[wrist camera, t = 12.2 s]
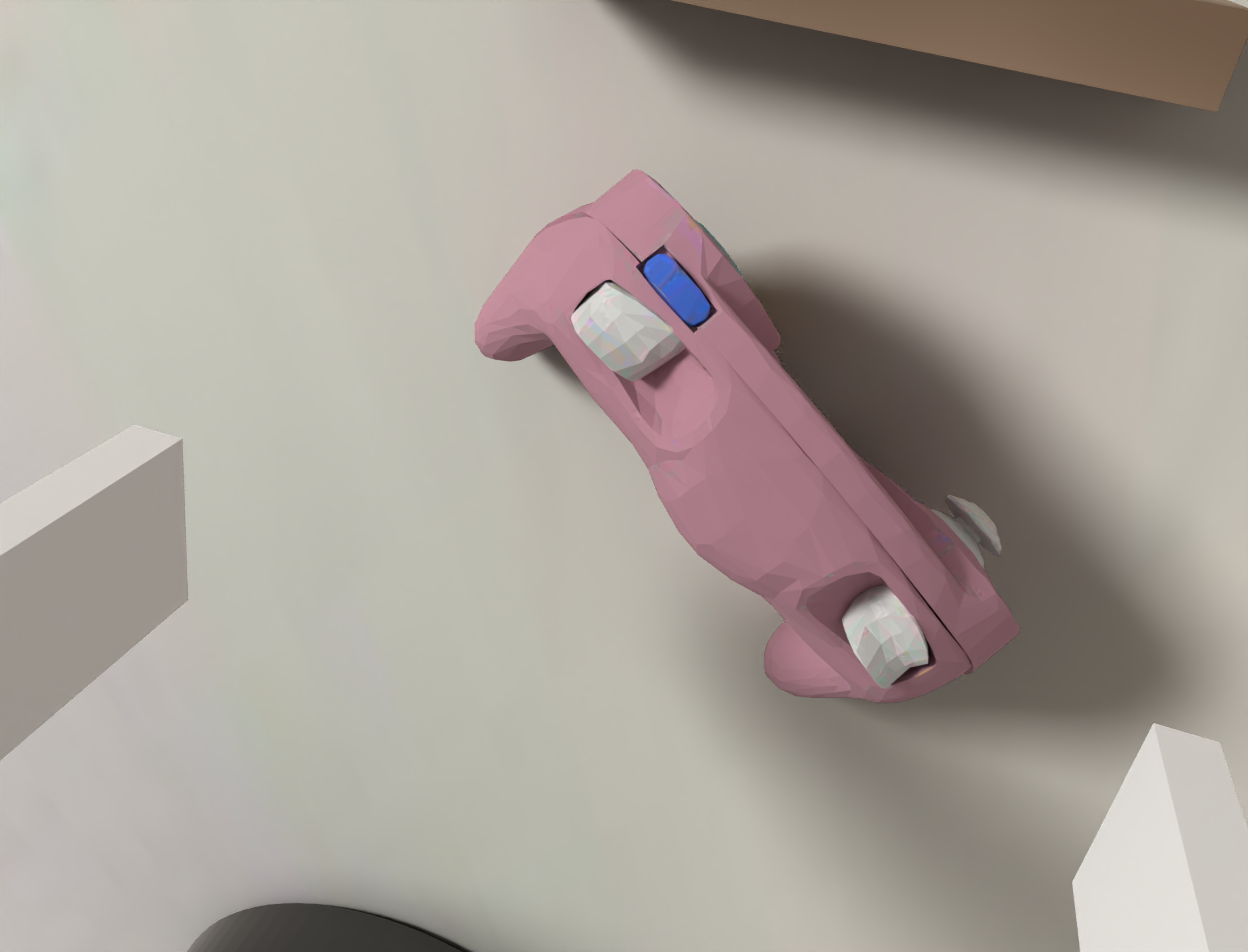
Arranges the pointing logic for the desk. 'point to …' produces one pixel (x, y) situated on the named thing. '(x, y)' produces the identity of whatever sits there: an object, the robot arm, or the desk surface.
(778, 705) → the desk surface
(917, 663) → the video game controller
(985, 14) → the dock
